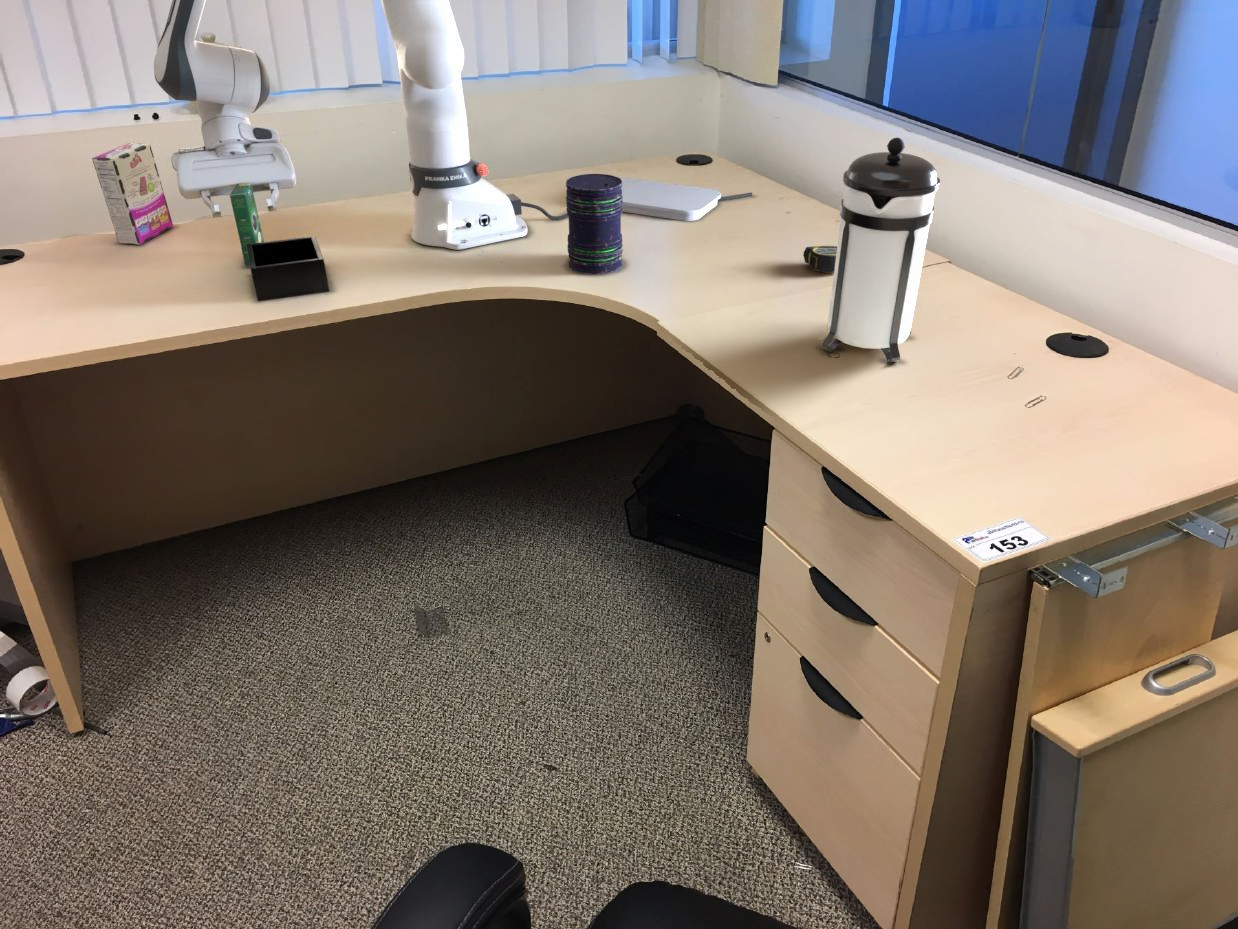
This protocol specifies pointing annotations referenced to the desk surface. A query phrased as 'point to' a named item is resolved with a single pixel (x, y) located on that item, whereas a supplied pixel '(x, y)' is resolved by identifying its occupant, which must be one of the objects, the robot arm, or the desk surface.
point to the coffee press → (880, 249)
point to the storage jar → (594, 223)
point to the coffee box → (246, 217)
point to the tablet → (667, 199)
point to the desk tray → (287, 268)
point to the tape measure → (821, 258)
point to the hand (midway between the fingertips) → (244, 212)
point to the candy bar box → (133, 193)
